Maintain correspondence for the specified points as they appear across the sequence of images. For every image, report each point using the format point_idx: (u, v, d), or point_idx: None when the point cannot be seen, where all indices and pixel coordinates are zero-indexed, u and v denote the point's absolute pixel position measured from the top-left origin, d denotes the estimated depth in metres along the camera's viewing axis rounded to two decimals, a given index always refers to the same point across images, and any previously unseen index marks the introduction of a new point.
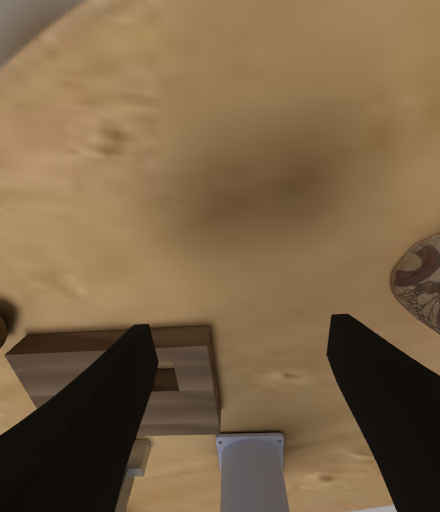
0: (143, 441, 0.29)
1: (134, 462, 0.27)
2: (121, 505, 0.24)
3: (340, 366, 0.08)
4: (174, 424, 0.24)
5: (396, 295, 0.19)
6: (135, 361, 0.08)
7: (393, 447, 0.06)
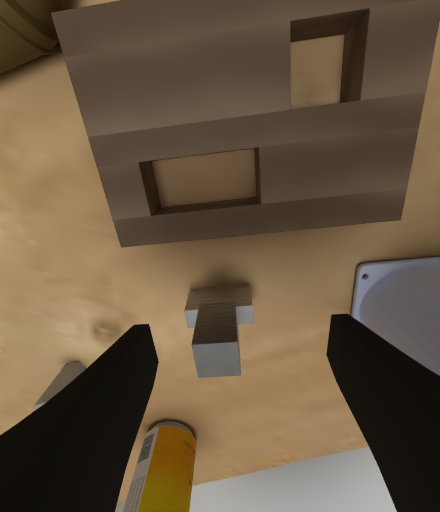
0: (242, 286, 0.19)
1: (239, 301, 0.17)
2: (238, 342, 0.15)
3: (340, 366, 0.08)
4: (328, 199, 0.14)
5: None
6: (135, 361, 0.08)
7: (393, 447, 0.06)
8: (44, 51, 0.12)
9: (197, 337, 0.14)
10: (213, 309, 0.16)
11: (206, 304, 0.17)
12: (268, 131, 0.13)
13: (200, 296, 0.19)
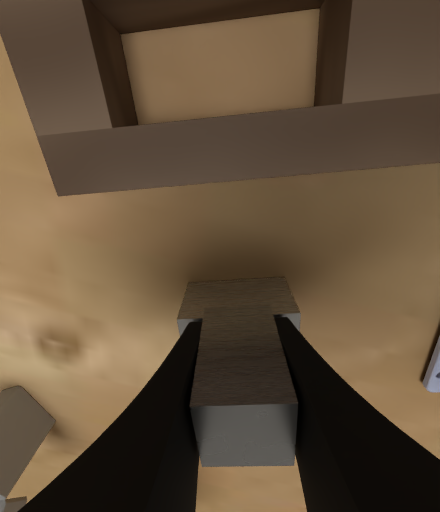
0: (273, 280, 0.12)
1: (275, 305, 0.10)
2: None
3: None
4: None
5: None
6: None
7: (303, 448, 0.06)
8: None
9: (203, 385, 0.06)
10: (231, 319, 0.09)
11: (217, 309, 0.09)
12: None
13: (205, 294, 0.11)
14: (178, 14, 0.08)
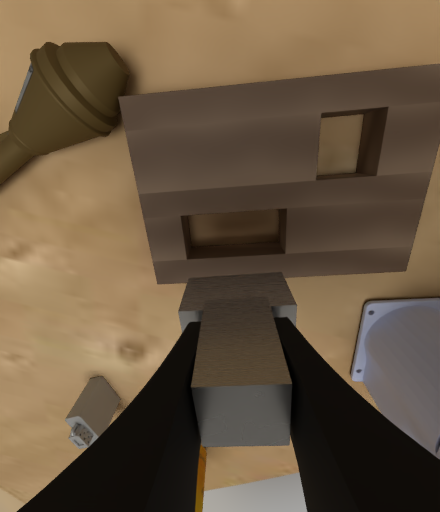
0: (271, 275, 0.12)
1: (272, 298, 0.10)
2: None
3: None
4: (343, 251, 0.16)
5: None
6: None
7: (303, 448, 0.06)
8: (106, 134, 0.14)
9: (203, 368, 0.07)
10: (230, 310, 0.09)
11: (217, 301, 0.10)
12: (296, 196, 0.15)
13: (205, 288, 0.12)
14: None
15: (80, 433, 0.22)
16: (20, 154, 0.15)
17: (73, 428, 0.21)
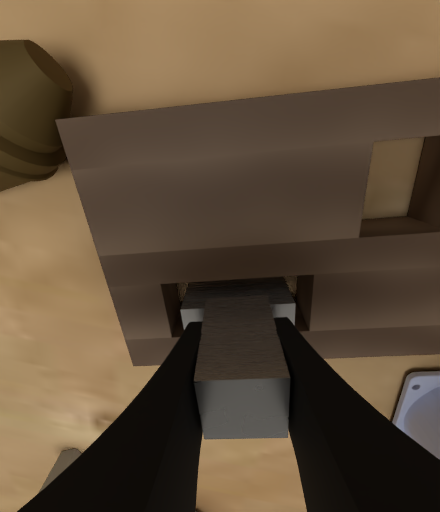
0: None
1: (271, 296, 0.11)
2: None
3: None
4: (392, 329, 0.12)
5: None
6: None
7: (303, 448, 0.06)
8: (46, 177, 0.10)
9: (205, 363, 0.07)
10: (231, 308, 0.09)
11: (218, 300, 0.10)
12: (328, 259, 0.10)
13: (206, 287, 0.12)
14: None
15: None
16: None
17: None
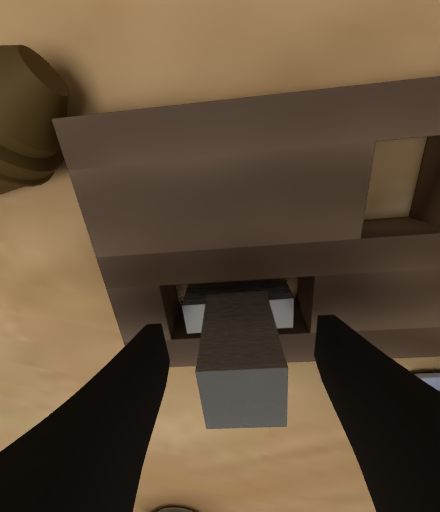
0: None
1: (271, 292, 0.11)
2: None
3: (325, 367, 0.08)
4: (394, 331, 0.11)
5: None
6: (150, 360, 0.08)
7: (372, 447, 0.06)
8: (42, 182, 0.10)
9: (206, 355, 0.07)
10: (231, 303, 0.10)
11: (218, 295, 0.10)
12: (329, 260, 0.10)
13: (207, 284, 0.12)
14: None
15: None
16: None
17: None
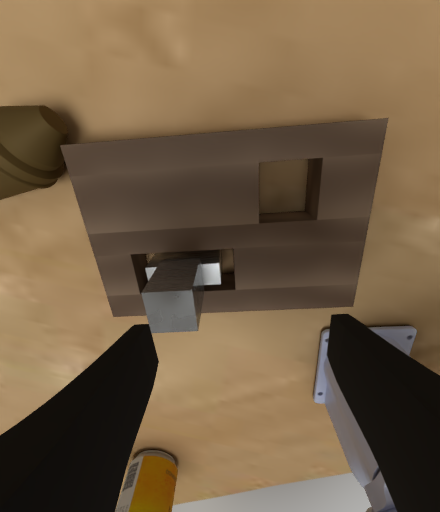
0: None
1: (206, 260, 0.16)
2: (197, 296, 0.13)
3: (340, 366, 0.08)
4: (291, 288, 0.17)
5: None
6: (135, 361, 0.08)
7: (393, 447, 0.06)
8: (49, 185, 0.15)
9: (149, 286, 0.12)
10: (174, 264, 0.15)
11: (168, 260, 0.15)
12: (241, 238, 0.15)
13: (166, 256, 0.17)
14: None
15: None
16: None
17: None
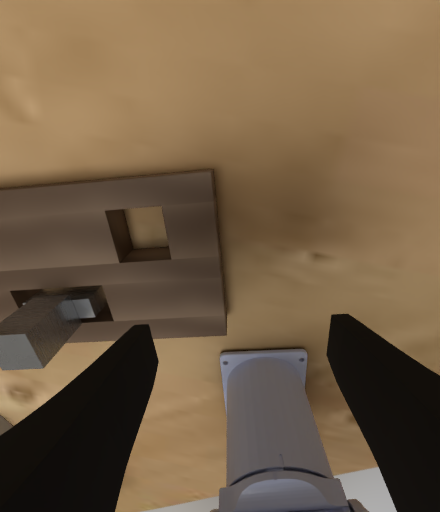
0: None
1: (81, 295, 0.17)
2: (48, 335, 0.14)
3: (340, 366, 0.08)
4: (165, 319, 0.18)
5: None
6: (135, 361, 0.08)
7: (393, 447, 0.06)
8: None
9: None
10: (41, 302, 0.16)
11: (40, 297, 0.17)
12: (106, 276, 0.16)
13: (52, 289, 0.19)
14: None
15: None
16: None
17: None
